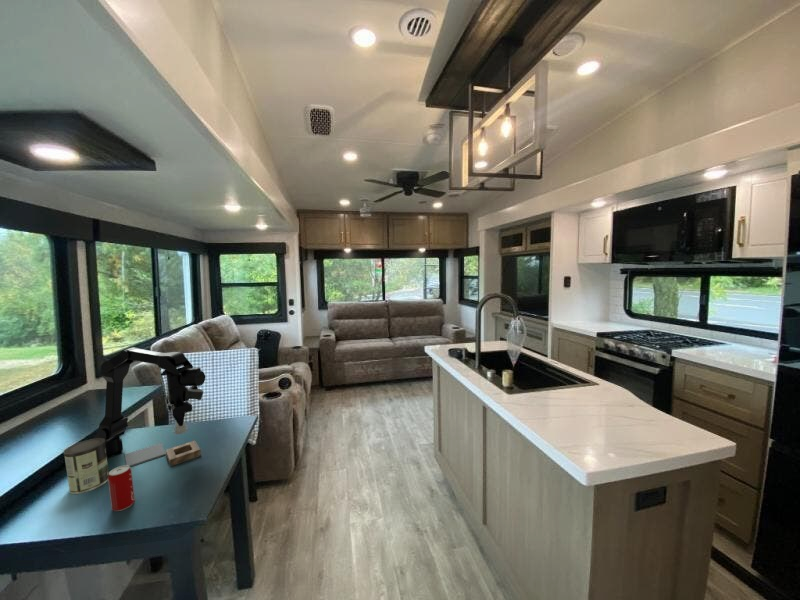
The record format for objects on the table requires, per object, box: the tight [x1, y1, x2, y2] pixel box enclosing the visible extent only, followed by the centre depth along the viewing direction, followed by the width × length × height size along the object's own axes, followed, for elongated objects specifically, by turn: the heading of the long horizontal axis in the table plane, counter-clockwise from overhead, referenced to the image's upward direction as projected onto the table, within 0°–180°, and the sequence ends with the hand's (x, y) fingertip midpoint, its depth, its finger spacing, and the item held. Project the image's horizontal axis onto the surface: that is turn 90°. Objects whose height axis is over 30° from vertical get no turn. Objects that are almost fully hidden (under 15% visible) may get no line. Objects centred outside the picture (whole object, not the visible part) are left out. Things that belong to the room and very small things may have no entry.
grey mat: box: [124, 442, 166, 468], centre depth 130 cm, size 12×12×1 cm
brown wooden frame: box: [165, 440, 202, 467], centre depth 129 cm, size 10×10×2 cm
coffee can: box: [62, 438, 110, 495], centre depth 112 cm, size 10×10×14 cm
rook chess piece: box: [174, 420, 189, 435], centre depth 128 cm, size 4×4×8 cm
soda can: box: [107, 464, 136, 512], centre depth 101 cm, size 6×6×12 cm
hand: (180, 424), depth 128 cm, fingers closed on rook chess piece, 3 cm apart
